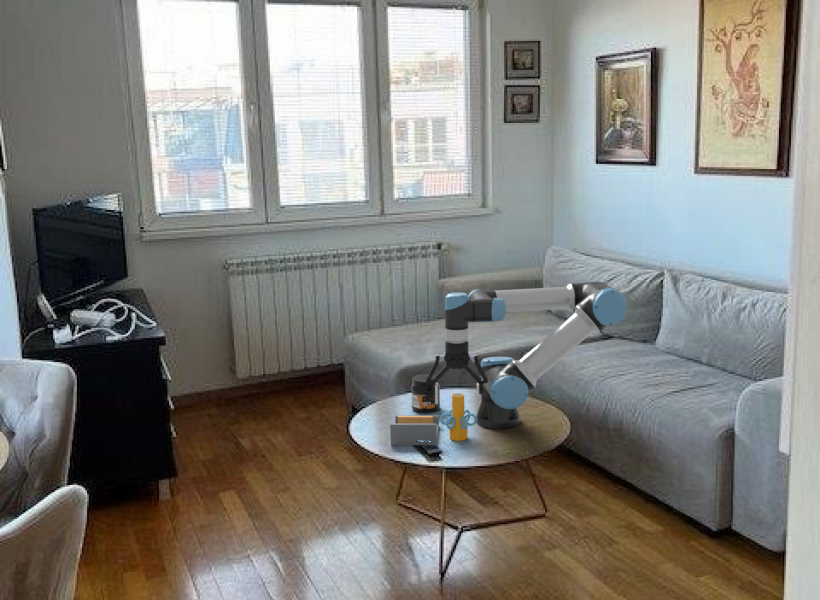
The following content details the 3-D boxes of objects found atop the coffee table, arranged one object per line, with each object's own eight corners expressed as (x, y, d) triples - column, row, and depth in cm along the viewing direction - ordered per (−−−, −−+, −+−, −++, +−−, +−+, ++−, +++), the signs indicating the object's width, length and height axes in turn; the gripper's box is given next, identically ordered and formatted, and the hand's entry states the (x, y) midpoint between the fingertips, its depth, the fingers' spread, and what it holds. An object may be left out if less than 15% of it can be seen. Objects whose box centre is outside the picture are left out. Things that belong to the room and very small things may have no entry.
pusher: (433, 432, 284) (432, 415, 283) (432, 434, 283) (432, 417, 282) (398, 432, 285) (398, 416, 284) (398, 434, 284) (397, 417, 283)
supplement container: (410, 413, 306) (409, 381, 303) (413, 404, 316) (412, 373, 314) (438, 413, 304) (438, 381, 302) (441, 404, 315) (440, 373, 312)
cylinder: (438, 443, 276) (437, 399, 273) (441, 432, 286) (441, 389, 283) (476, 444, 274) (475, 400, 271) (478, 433, 284) (477, 390, 281)
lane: (438, 426, 292) (438, 407, 290) (436, 445, 274) (436, 424, 273) (395, 426, 293) (395, 407, 291) (390, 445, 275) (390, 424, 274)
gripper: (495, 337, 276) (494, 399, 280) (419, 337, 278) (420, 399, 282) (495, 343, 269) (495, 407, 273) (417, 343, 271) (418, 406, 275)
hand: (457, 403), depth 278 cm, fingers open, 13 cm apart
